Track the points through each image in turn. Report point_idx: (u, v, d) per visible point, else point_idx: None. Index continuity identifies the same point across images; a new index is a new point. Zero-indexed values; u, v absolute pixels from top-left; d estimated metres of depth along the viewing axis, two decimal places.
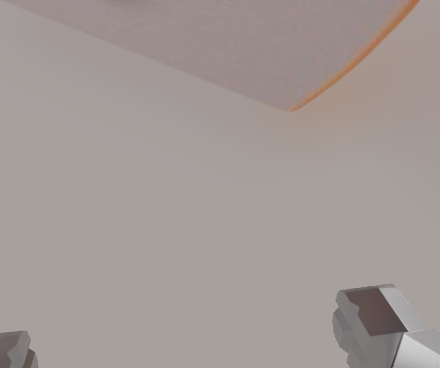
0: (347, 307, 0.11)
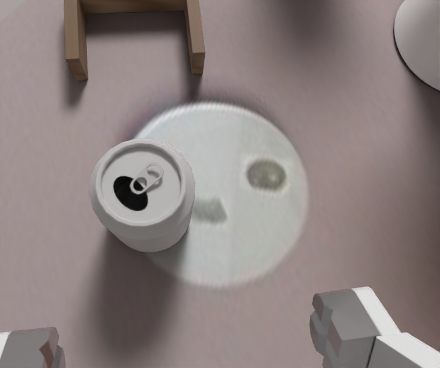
0: (322, 310, 0.10)
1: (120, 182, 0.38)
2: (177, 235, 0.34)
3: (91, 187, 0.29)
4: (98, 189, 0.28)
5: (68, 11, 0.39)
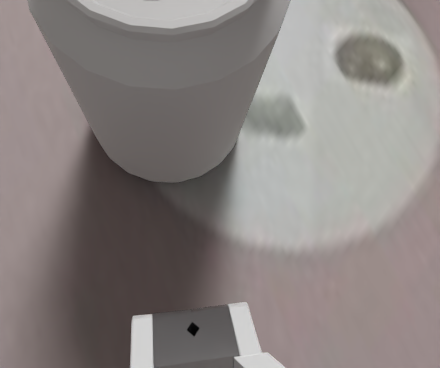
0: (192, 328, 0.10)
1: None
2: (230, 129, 0.16)
3: None
4: None
5: None
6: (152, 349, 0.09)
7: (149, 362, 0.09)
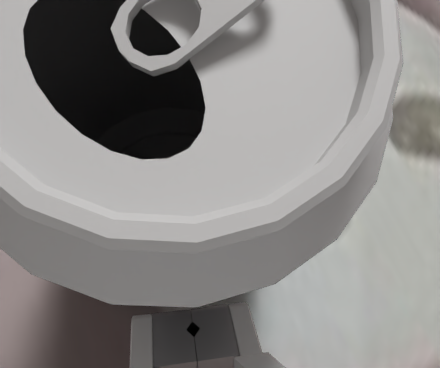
0: (192, 327, 0.10)
1: (97, 121, 0.15)
2: None
3: None
4: None
5: None
6: (152, 349, 0.09)
7: (149, 362, 0.09)
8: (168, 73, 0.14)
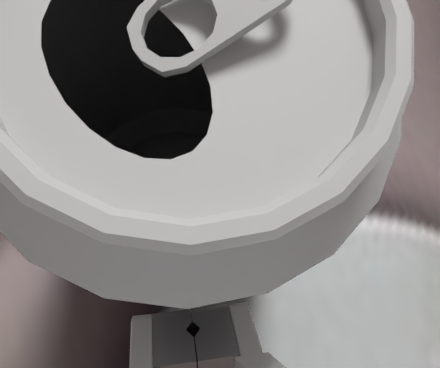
0: (192, 327, 0.10)
1: (111, 116, 0.15)
2: None
3: None
4: None
5: None
6: (152, 349, 0.09)
7: (149, 362, 0.09)
8: (185, 74, 0.14)
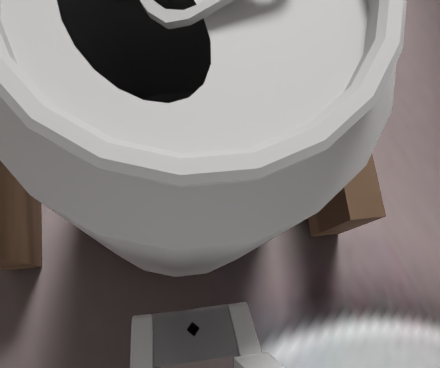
0: (192, 327, 0.10)
1: None
2: (256, 247, 0.11)
3: None
4: None
5: None
6: (152, 349, 0.09)
7: (149, 362, 0.09)
8: (194, 57, 0.15)
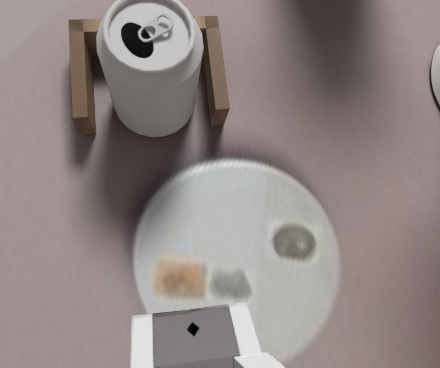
0: (192, 327, 0.10)
1: None
2: (176, 112, 0.33)
3: (99, 31, 0.29)
4: (105, 27, 0.27)
5: (75, 61, 0.35)
6: (152, 349, 0.09)
7: (149, 362, 0.09)
8: None
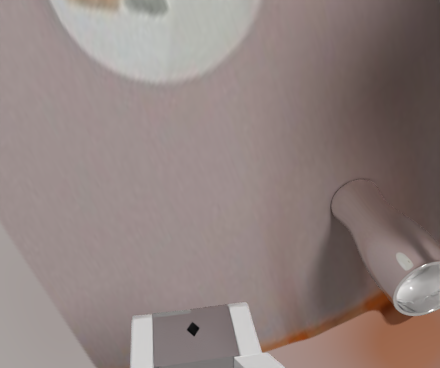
0: (192, 328, 0.10)
1: None
2: None
3: None
4: None
5: None
6: (152, 349, 0.09)
7: (149, 362, 0.09)
8: None
